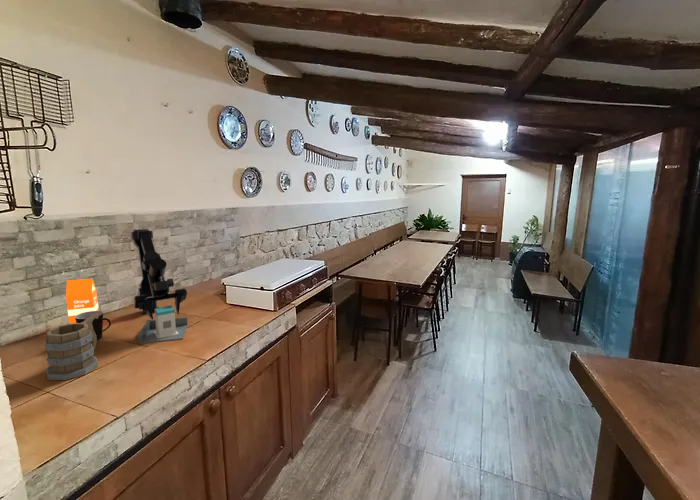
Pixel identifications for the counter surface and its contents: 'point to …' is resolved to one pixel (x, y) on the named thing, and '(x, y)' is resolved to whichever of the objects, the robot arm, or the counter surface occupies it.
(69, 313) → the orange juice
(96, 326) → the coffee mug
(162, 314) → the white teal-lidded canister
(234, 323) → the counter surface
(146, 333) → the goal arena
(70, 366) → the tankard
